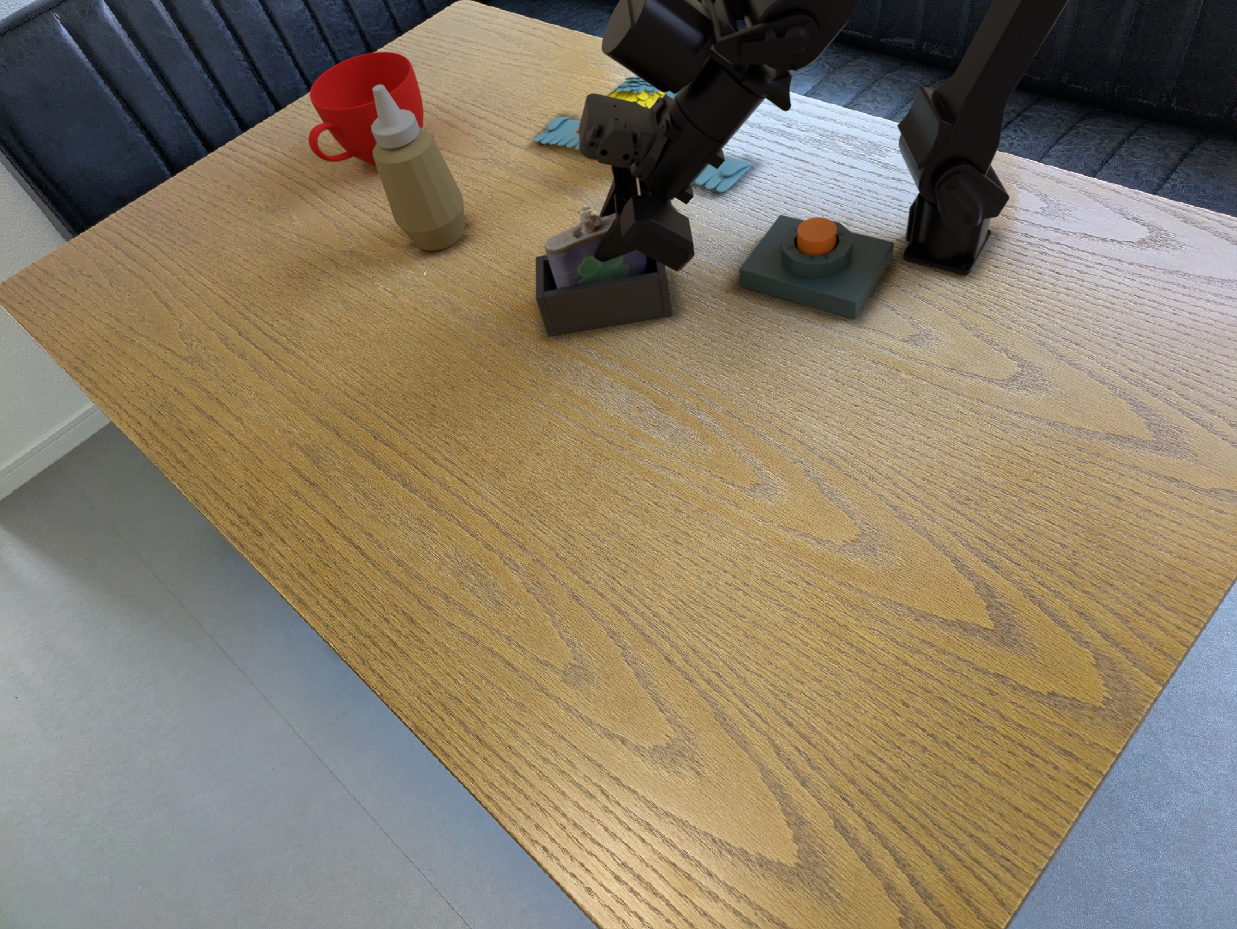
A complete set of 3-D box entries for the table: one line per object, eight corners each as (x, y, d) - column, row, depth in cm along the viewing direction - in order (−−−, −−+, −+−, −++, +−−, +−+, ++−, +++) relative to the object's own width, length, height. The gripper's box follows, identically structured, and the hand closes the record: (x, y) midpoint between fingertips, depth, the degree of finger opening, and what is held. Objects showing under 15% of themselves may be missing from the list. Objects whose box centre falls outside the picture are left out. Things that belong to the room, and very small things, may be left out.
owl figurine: (495, 92, 94) (573, 30, 101) (514, 159, 101) (586, 97, 107) (702, 142, 82) (776, 67, 88) (707, 215, 88) (776, 141, 95)
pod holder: (666, 274, 84) (660, 234, 80) (672, 315, 80) (666, 275, 76) (547, 294, 85) (535, 256, 81) (548, 336, 82) (535, 298, 77)
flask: (568, 323, 81) (541, 237, 73) (561, 305, 83) (534, 219, 74) (655, 294, 82) (639, 205, 73) (646, 276, 83) (630, 187, 75)
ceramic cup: (304, 189, 105) (264, 118, 97) (388, 117, 113) (357, 45, 105) (375, 210, 100) (340, 136, 92) (459, 133, 107) (432, 58, 99)
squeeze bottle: (394, 254, 94) (323, 108, 80) (428, 210, 98) (366, 63, 84) (453, 262, 91) (390, 113, 77) (485, 217, 95) (432, 67, 81)
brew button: (842, 236, 78) (843, 221, 76) (826, 260, 76) (826, 245, 75) (807, 228, 79) (807, 213, 78) (790, 251, 78) (790, 236, 76)
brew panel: (892, 259, 80) (896, 226, 77) (854, 319, 76) (857, 287, 73) (780, 231, 85) (780, 199, 82) (739, 286, 81) (737, 254, 78)
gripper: (616, 8, 69) (523, 149, 79) (632, 130, 58) (521, 277, 68) (716, 79, 74) (618, 203, 84) (748, 203, 63) (630, 329, 73)
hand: (597, 247), depth 77 cm, fingers closed on flask, 3 cm apart
